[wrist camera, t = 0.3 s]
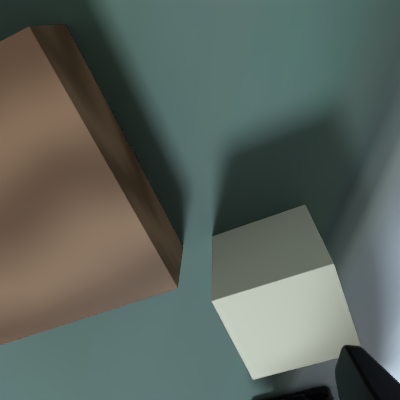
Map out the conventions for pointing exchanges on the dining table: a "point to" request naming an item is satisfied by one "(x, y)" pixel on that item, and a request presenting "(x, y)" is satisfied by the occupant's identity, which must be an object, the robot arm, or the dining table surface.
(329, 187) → the dining table surface
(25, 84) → the walnut block
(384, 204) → the dining table surface
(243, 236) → the sage cube
